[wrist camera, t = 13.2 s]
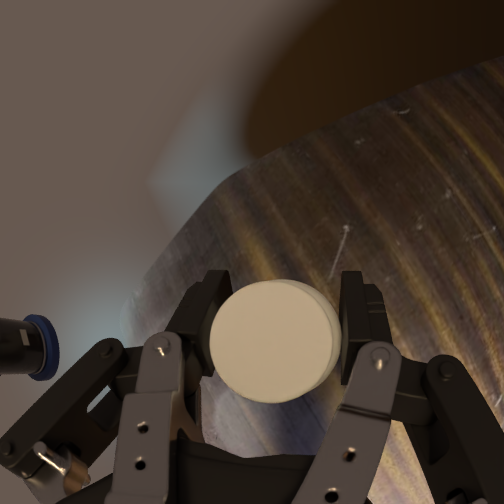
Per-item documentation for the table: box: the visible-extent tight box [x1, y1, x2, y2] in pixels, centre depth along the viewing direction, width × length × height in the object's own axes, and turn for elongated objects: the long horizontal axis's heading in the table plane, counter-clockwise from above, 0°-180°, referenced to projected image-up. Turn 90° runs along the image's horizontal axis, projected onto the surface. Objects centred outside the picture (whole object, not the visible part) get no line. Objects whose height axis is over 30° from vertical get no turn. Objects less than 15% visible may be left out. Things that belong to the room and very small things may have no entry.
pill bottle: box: [209, 279, 342, 403], centre depth 11 cm, size 4×4×8 cm
